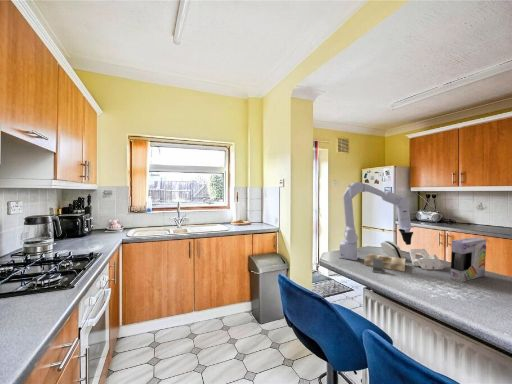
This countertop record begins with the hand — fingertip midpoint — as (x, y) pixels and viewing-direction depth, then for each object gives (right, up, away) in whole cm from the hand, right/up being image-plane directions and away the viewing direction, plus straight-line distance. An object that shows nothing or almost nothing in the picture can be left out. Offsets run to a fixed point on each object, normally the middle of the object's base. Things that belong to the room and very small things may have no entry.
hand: (407, 243), depth 134 cm
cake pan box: (+12, -11, -24) cm, 29 cm away
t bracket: (-24, -11, -15) cm, 30 cm away
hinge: (-3, -11, +10) cm, 15 cm away
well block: (-15, -10, -6) cm, 19 cm away
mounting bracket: (+4, -11, -9) cm, 15 cm away
